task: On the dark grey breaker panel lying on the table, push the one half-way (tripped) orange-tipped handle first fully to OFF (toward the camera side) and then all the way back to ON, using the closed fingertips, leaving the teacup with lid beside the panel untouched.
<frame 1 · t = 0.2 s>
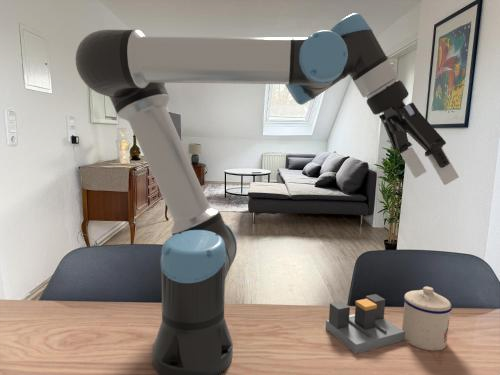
hand: (434, 177, 71), 35 cm above the table, tool tilted 35°, fingers open, 13 cm apart
panel: (363, 334, 76), on the table
teacup with lid: (420, 336, 76), on the table
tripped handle: (365, 314, 75), point 5 cm above the table, slide at 2.5 cm
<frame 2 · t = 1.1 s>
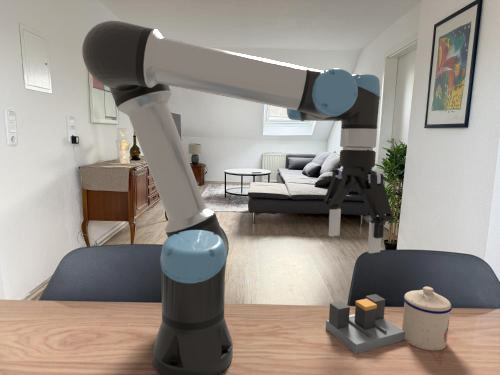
hand: (352, 243, 78), 19 cm above the table, tool pointing down, fingers open, 13 cm apart
nothing on the table moved.
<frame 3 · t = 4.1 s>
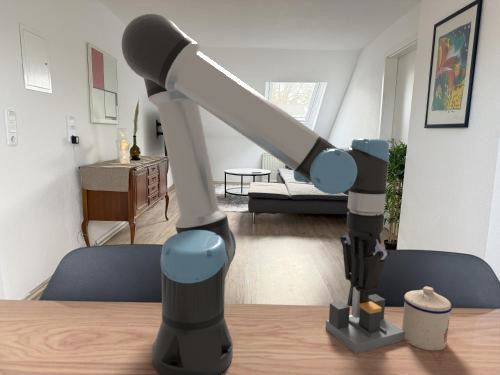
hand: (358, 315, 77), 3 cm above the table, tool pointing down, fingers closed
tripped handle: (369, 317, 74), point 5 cm above the table, slide at 1.1 cm, touching gripper
everything else where it was.
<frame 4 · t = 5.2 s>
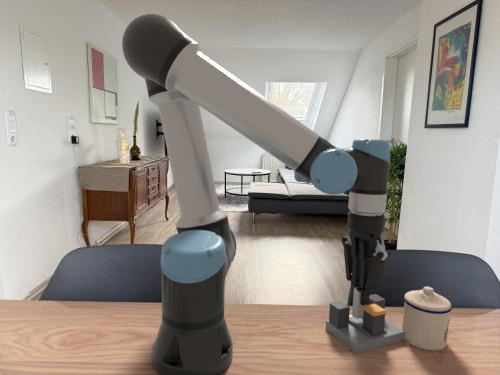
hand: (359, 315, 77), 3 cm above the table, tool pointing down, fingers closed
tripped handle: (373, 319, 73), point 5 cm above the table, slide at 0.0 cm
everything else where it was.
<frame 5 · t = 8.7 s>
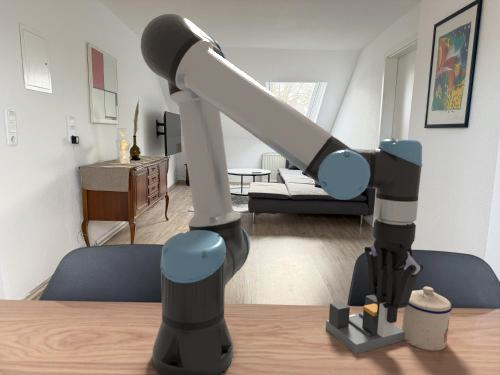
hand: (385, 334, 70), 3 cm above the table, tool pointing down, fingers closed
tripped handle: (373, 319, 73), point 5 cm above the table, slide at 0.1 cm, touching gripper
everything else where it was.
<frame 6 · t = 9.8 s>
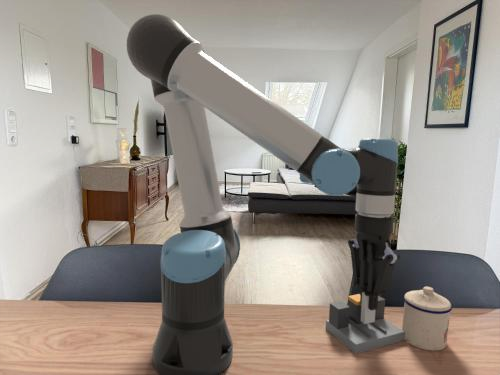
hand: (367, 321, 74), 3 cm above the table, tool pointing down, fingers closed
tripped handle: (357, 308, 77), point 5 cm above the table, slide at 5.0 cm, touching gripper, panel
everything else where it was.
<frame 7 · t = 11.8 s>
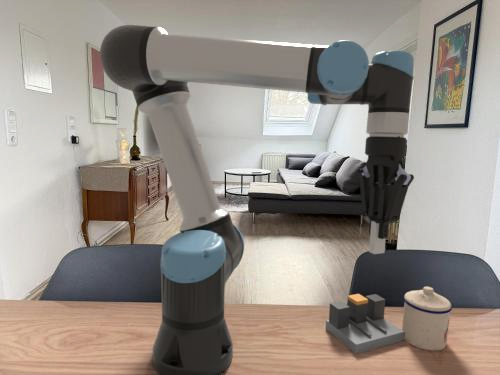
hand: (376, 252, 71), 19 cm above the table, tool pointing down, fingers closed
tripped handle: (357, 308, 77), point 5 cm above the table, slide at 5.2 cm, touching panel
everything else where it was.
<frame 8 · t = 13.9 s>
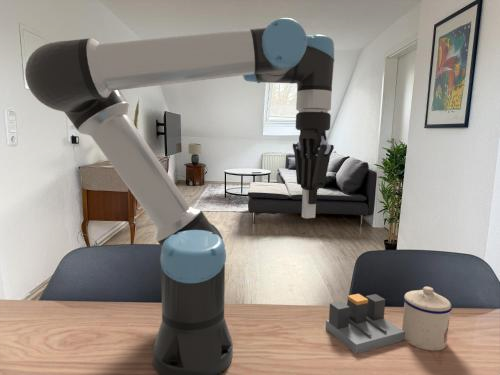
hand: (308, 217, 79), 24 cm above the table, tool pointing down, fingers closed
nothing on the table moved.
at the end: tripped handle slide at 5.2 cm; teacup with lid moved 0.3 cm from its start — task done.
